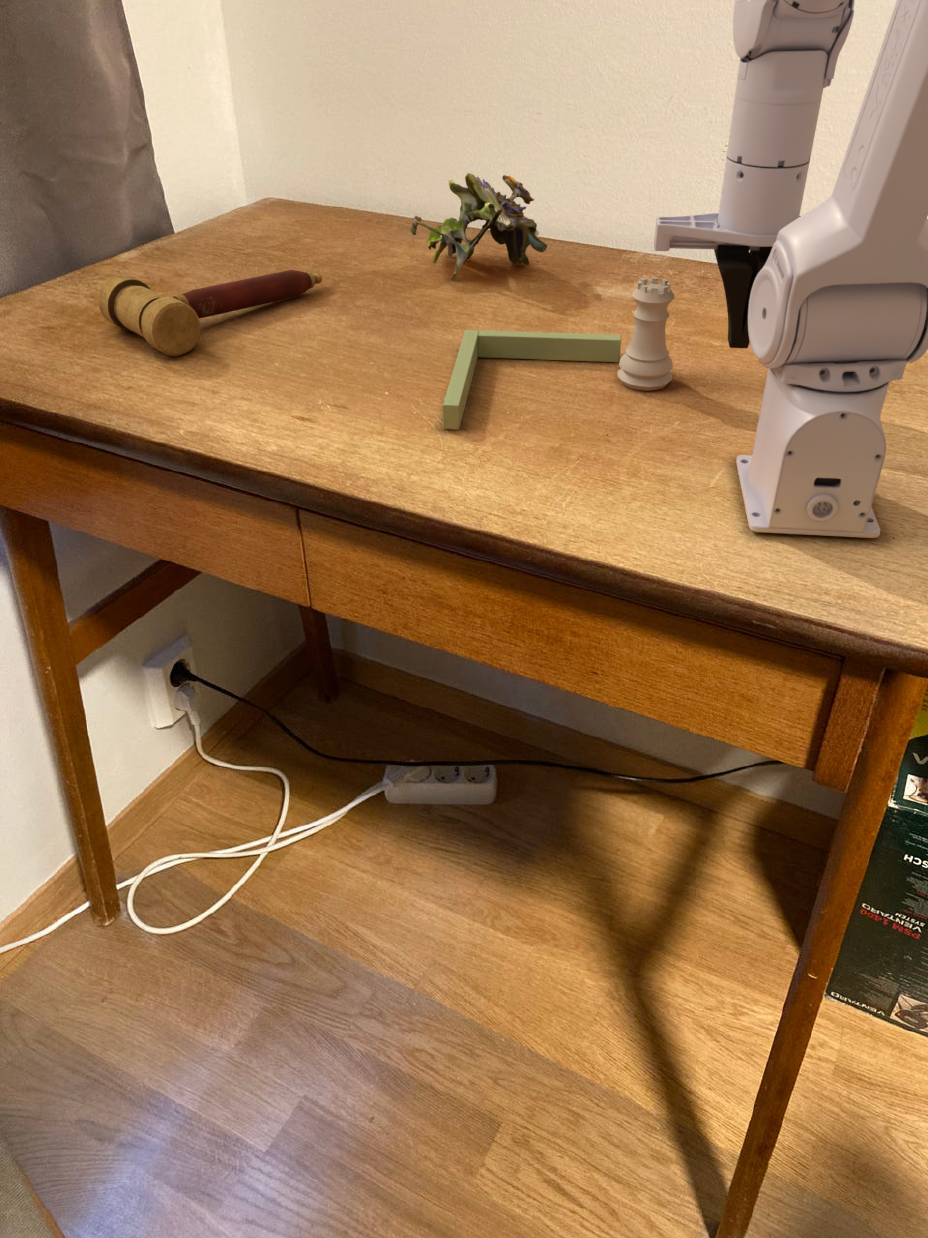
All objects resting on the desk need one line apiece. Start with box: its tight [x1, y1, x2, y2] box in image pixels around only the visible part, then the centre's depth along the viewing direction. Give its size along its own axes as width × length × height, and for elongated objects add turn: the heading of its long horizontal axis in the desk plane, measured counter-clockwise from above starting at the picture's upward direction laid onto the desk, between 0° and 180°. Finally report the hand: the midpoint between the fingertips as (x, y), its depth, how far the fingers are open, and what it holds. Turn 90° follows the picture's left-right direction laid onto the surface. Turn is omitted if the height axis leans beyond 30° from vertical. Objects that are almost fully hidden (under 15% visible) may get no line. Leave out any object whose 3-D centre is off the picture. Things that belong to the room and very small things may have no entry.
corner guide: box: [442, 329, 622, 431], centre depth 80 cm, size 15×13×2 cm
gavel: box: [97, 269, 323, 357], centre depth 93 cm, size 21×5×10 cm
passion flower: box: [410, 172, 548, 281], centre depth 100 cm, size 11×11×12 cm
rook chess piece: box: [617, 276, 675, 392], centre depth 79 cm, size 4×4×8 cm
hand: (737, 343), depth 79 cm, fingers closed
